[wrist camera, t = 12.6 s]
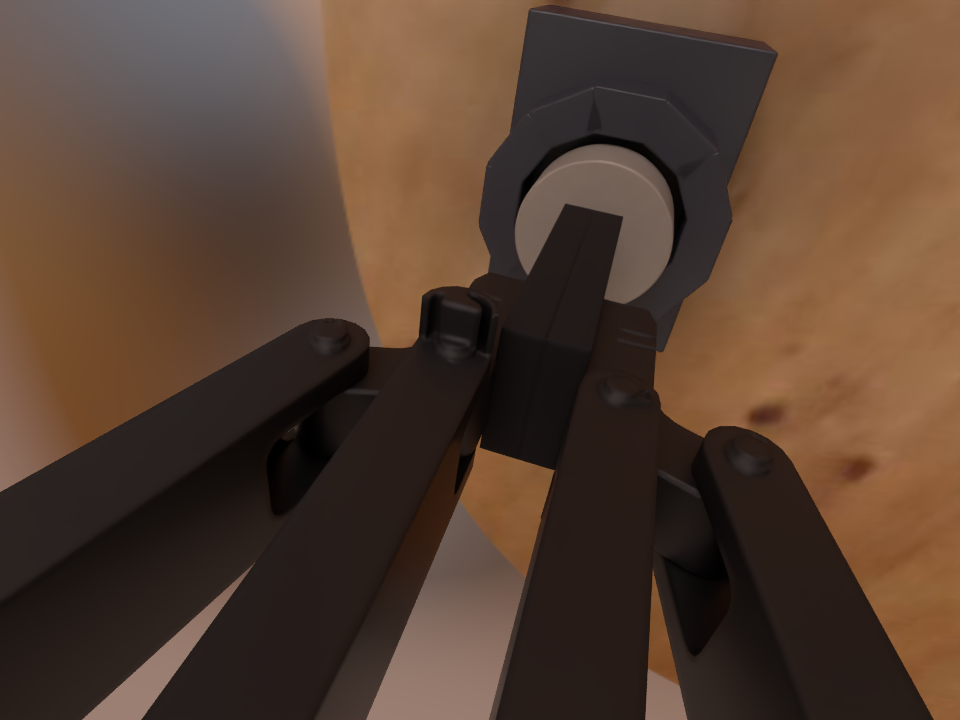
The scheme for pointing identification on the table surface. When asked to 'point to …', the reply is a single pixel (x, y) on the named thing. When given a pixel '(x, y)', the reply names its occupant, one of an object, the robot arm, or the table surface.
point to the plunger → (607, 188)
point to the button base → (631, 129)
